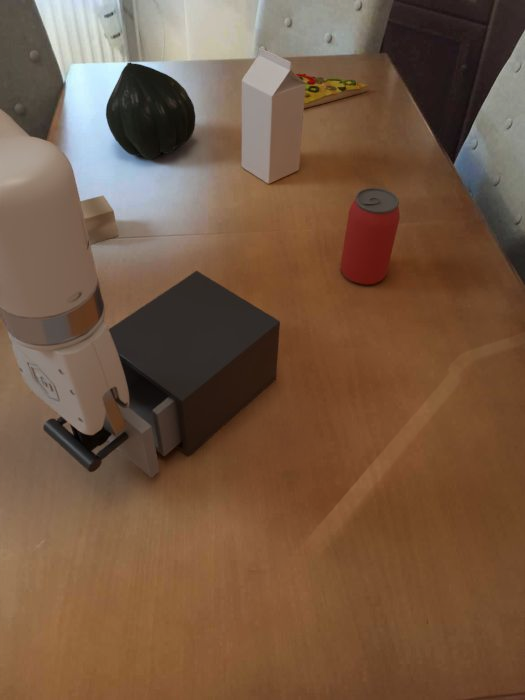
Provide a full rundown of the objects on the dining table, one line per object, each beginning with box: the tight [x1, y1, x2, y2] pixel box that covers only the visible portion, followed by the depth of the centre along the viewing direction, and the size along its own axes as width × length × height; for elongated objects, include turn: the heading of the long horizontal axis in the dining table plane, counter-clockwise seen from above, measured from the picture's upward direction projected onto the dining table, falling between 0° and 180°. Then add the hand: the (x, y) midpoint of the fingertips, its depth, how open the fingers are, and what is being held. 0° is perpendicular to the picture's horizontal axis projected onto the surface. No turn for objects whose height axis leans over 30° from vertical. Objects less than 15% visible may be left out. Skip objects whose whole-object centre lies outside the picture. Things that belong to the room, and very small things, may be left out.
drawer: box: [42, 359, 182, 478], centre depth 62 cm, size 18×11×8 cm, turn 139°
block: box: [80, 195, 119, 245], centre depth 88 cm, size 4×4×4 cm
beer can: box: [340, 187, 401, 286], centre depth 81 cm, size 7×7×12 cm
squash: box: [105, 62, 196, 160], centre depth 103 cm, size 14×15×15 cm
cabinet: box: [108, 270, 281, 458], centre depth 66 cm, size 15×13×10 cm
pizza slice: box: [295, 73, 369, 109], centre depth 123 cm, size 16×21×3 cm
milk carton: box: [241, 47, 306, 185], centre depth 96 cm, size 7×7×19 cm
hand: (95, 439), depth 59 cm, fingers closed
